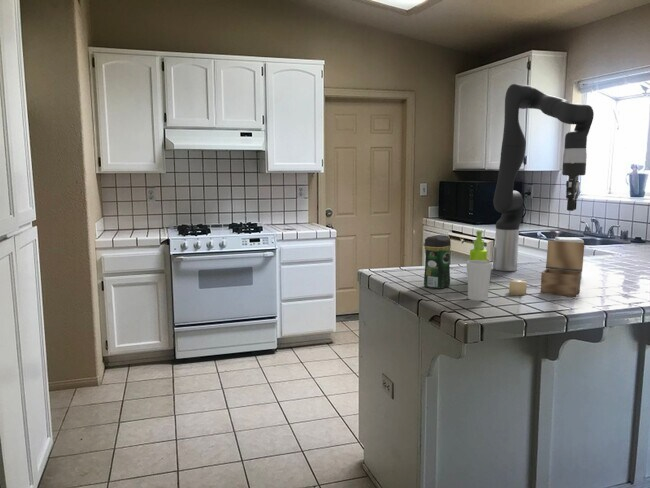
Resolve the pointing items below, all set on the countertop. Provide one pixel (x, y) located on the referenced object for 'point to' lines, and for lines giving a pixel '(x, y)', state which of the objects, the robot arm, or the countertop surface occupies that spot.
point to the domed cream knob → (517, 287)
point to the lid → (565, 255)
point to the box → (560, 282)
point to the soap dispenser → (478, 248)
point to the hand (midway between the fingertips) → (571, 209)
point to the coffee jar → (437, 261)
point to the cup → (478, 279)
